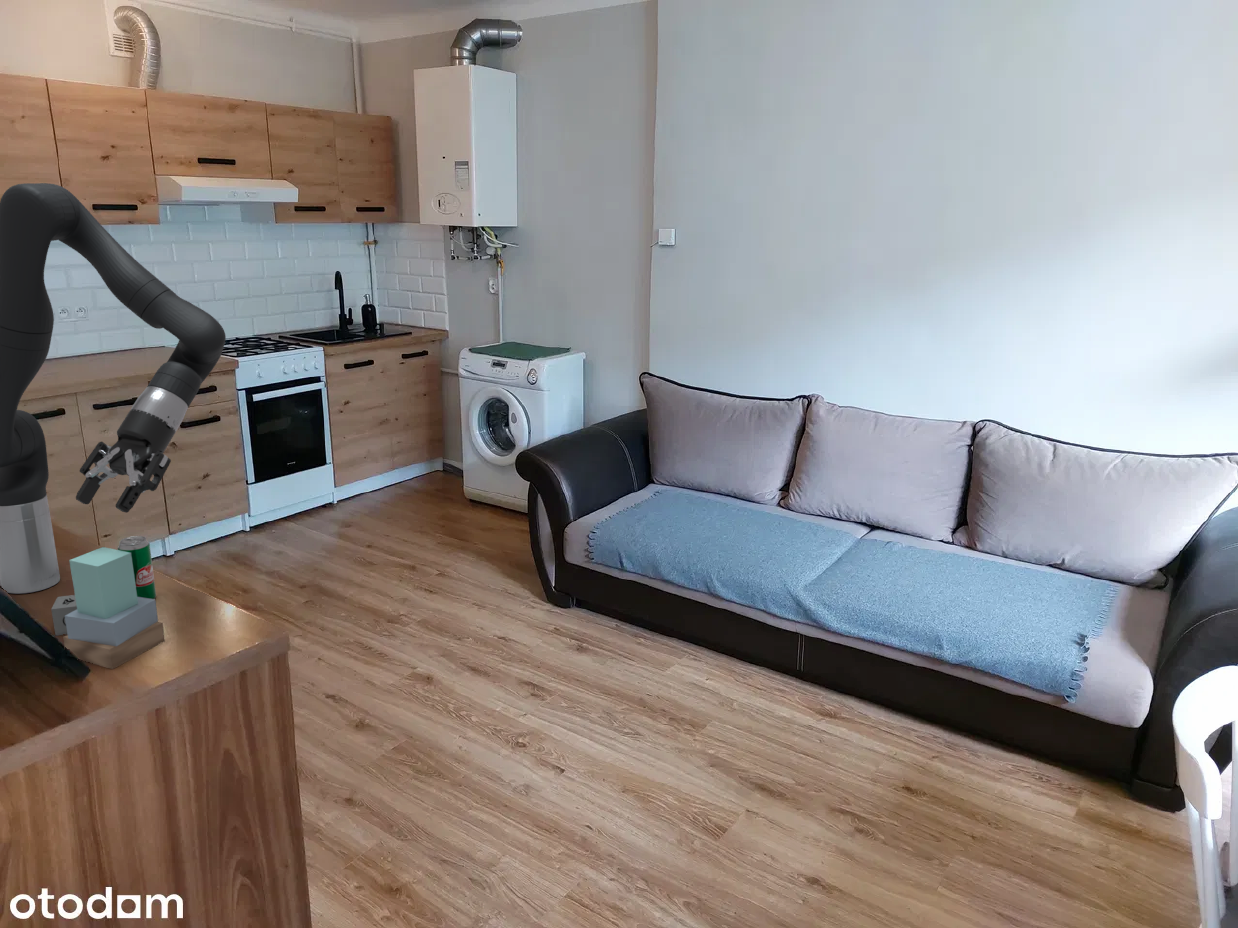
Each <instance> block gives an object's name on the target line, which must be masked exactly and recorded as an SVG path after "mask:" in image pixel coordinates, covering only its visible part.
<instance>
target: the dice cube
mask: <svg viewBox="0 0 1238 928" xmlns="http://www.w3.org/2000/svg"><path fill="white" fill-rule="evenodd" d="M75 610H77V605H76V598H75V594H71V595H62V596H57V597H56V599H55V601H54V603H53V605H52V607H51V616H52V621H53V627H54V633H55V636H64V635H63V634H65V635H68V634H67V628H66V621H65V615H67V614H69V613H71V612H73V611H75Z"/></svg>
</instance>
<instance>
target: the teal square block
mask: <svg viewBox="0 0 1238 928" xmlns="http://www.w3.org/2000/svg"><path fill="white" fill-rule="evenodd" d="M69 567H70V573H71V578H72V585H73V591H74V592H73V593H74V595H75V598H76V605H77V611H78V612H79V613H83V614H87V615H91V616H95V617H99V618H103V619H107V618H109V617H111V616H114V615H116V614H118V613H120V612H122V611H124V610H126V609H128V608H130V607H132V606H134V605H136V604H138V599H137V592H136V585H135V577H134V570H133V563H132V556H131V553H130V552H125V551H120V550H118V549H115V548H110V547H105V546H102V547H100V548H97V549H94V550H92V551H89V552H87V553H84V554H81V555H79V556H76V557H74V558H72V559H71V558H70V559H69Z"/></svg>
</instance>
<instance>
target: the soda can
mask: <svg viewBox="0 0 1238 928" xmlns="http://www.w3.org/2000/svg"><path fill="white" fill-rule="evenodd" d="M147 539H148V538H147V537H146V536H145V535H144V536H143V535H132V536H128V537H127V536H126V537H124V538H122V539H120V540H119V541H118V542H119V543H118V544H119V545H118V546H117V550H120V551H125V552H130V553H131V556H132V563H133V570H134V577H135V585H136V592H137V597H142V598H149V599H155V598H157V591H156V583H155V576H154V569H153V561H152V553H151V546H150V542H149V541H148V540H147Z"/></svg>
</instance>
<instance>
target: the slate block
mask: <svg viewBox="0 0 1238 928" xmlns="http://www.w3.org/2000/svg"><path fill="white" fill-rule="evenodd" d="M137 599H138V604H136V605H134V606H132V607H130V608H128V609H126V610H124V611H122V612H120V613H118V614H116V615H114V616H111V617H109V618H107V619H103V618H99V617H95V616H91V615H87V614H83V613H79V612H78V611H77V610H75V611H73V612H71V613H69V614H67V615H65V621H66V628H67V634H66V635H68V639H74V640H80V641H86V642H93V643H99V644H105V645H111V646H118V645H120V644H121V643H123V642H125V641H126V640H128V639H130V638H131V637H133V636H134V635H136V634H138V633H139V632H141V631H143V630H144V629H146V628H148V627H149V626H151V625H153V624H154V623H156V622H157V621H158V622H159V619H158V618H159V617H158V610H157V602H156V599H155V598H154V599H149V598H142V597H137Z"/></svg>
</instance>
